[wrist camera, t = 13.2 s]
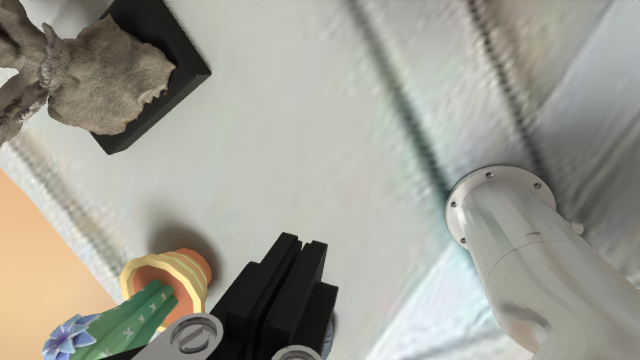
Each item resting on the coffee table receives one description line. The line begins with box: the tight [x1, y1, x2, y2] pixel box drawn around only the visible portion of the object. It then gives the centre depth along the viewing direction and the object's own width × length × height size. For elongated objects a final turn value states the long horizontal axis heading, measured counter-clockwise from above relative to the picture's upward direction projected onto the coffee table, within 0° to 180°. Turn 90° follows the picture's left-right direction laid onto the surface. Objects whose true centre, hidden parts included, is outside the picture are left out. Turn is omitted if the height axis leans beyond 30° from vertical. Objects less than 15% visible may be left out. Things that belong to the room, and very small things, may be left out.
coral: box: [0, 0, 211, 155], centre depth 37 cm, size 25×20×22 cm
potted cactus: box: [42, 248, 212, 360], centre depth 46 cm, size 15×15×25 cm
